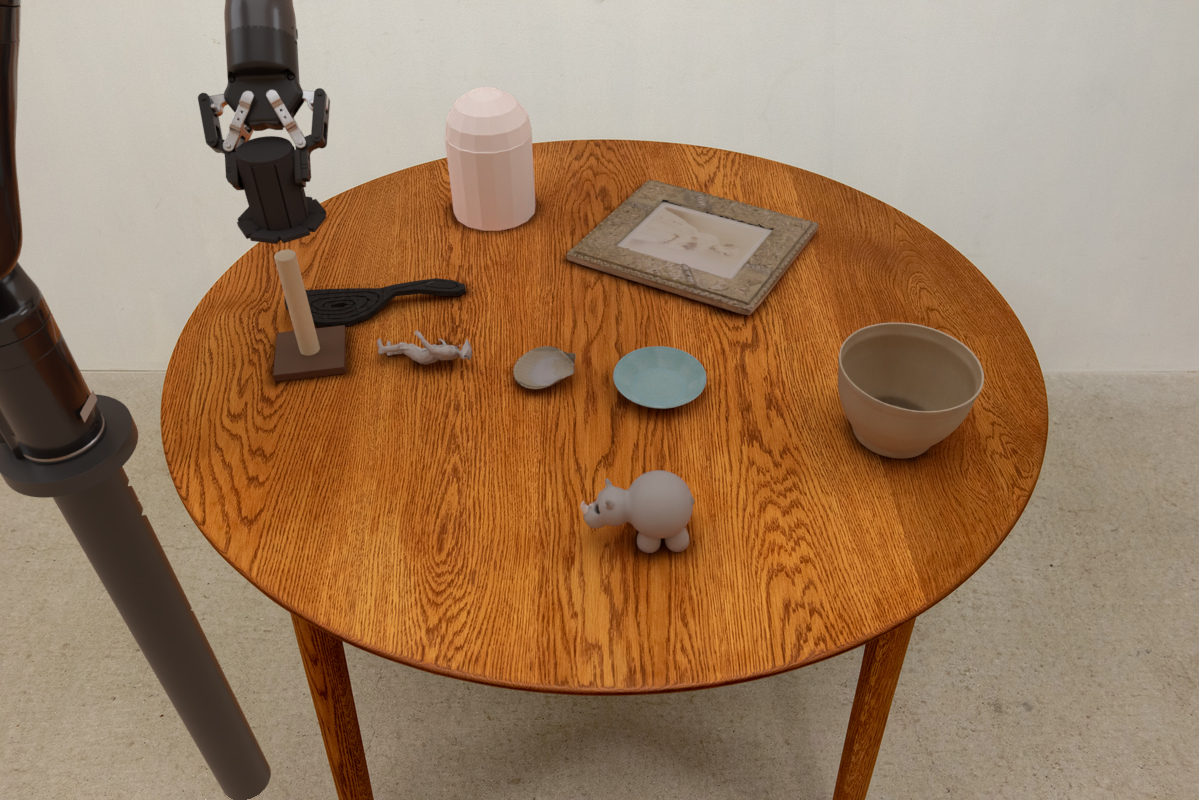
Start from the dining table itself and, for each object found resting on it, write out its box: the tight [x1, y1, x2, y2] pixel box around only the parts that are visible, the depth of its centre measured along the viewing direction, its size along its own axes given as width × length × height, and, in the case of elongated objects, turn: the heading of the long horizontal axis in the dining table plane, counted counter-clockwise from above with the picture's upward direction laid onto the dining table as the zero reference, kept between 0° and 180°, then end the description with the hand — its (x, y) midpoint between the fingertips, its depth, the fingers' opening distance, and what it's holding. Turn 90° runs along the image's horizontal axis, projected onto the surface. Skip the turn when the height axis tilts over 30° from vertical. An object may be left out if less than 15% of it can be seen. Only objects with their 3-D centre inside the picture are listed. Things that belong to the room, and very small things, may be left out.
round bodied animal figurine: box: [580, 469, 695, 554], centre depth 100 cm, size 7×12×8 cm, turn 90°
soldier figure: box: [376, 330, 473, 366], centre depth 124 cm, size 8×5×12 cm
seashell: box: [512, 345, 577, 390], centre depth 122 cm, size 8×3×8 cm
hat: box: [236, 135, 327, 245], centre depth 106 cm, size 10×10×9 cm
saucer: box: [612, 345, 707, 410], centre depth 120 cm, size 12×12×2 cm
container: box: [444, 86, 536, 232], centre depth 147 cm, size 14×13×20 cm
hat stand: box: [272, 248, 347, 383], centre depth 121 cm, size 9×9×16 cm
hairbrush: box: [283, 277, 467, 328], centre depth 133 cm, size 8×4×25 cm
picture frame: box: [565, 179, 820, 316], centre depth 145 cm, size 27×30×3 cm
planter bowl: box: [837, 321, 985, 459], centre depth 112 cm, size 16×16×11 cm
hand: (269, 186), depth 104 cm, fingers closed on hat, 6 cm apart
